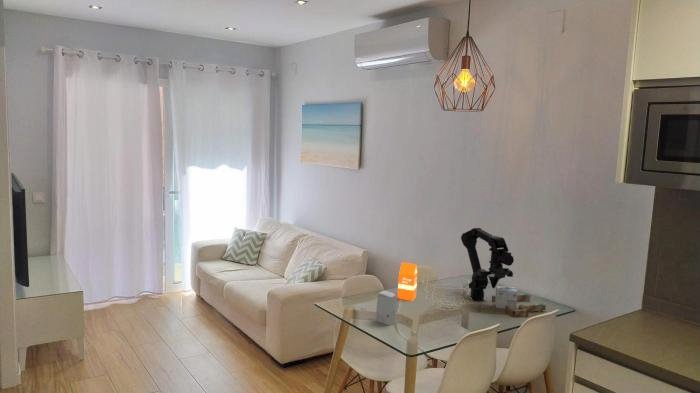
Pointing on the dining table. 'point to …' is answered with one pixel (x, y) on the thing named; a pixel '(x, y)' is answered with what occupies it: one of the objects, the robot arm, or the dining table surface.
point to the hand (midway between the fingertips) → (493, 288)
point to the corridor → (522, 306)
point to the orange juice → (407, 281)
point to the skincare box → (386, 307)
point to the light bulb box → (506, 297)
